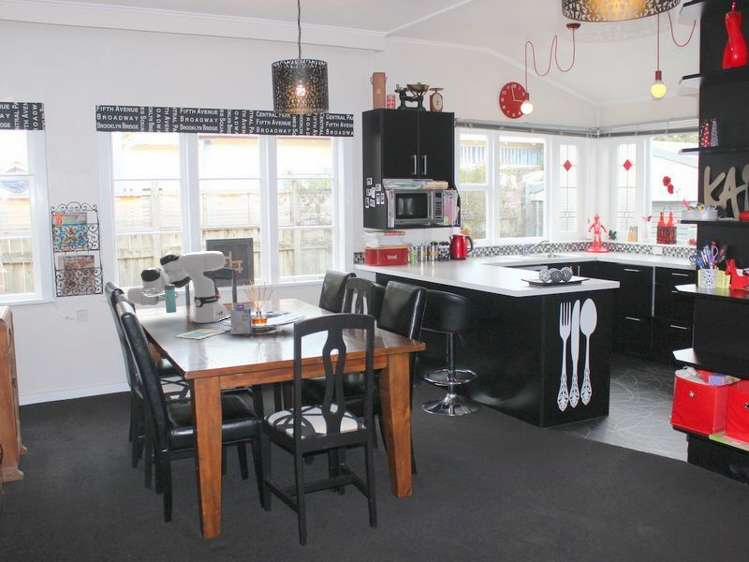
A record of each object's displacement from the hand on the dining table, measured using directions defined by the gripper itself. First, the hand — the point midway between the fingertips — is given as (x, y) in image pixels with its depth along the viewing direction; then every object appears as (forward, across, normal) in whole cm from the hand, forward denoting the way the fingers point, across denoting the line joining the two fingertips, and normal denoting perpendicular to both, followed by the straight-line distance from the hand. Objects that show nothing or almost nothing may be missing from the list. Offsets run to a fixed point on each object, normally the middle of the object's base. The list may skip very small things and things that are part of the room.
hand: (171, 297), depth 373 cm
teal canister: (-1, 0, -8) cm, 8 cm away
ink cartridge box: (+33, -14, -19) cm, 41 cm away
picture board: (+15, -3, -19) cm, 24 cm away
